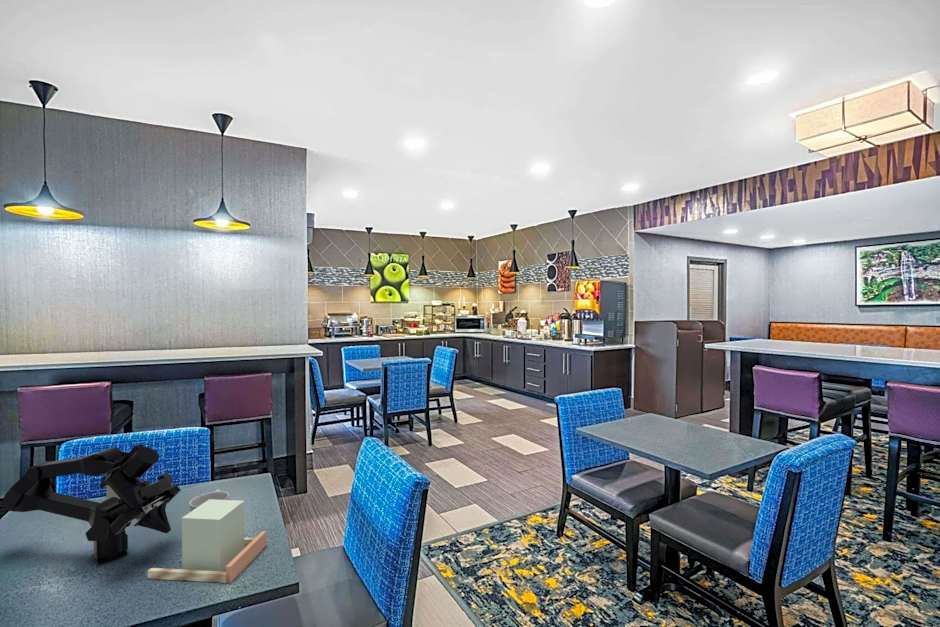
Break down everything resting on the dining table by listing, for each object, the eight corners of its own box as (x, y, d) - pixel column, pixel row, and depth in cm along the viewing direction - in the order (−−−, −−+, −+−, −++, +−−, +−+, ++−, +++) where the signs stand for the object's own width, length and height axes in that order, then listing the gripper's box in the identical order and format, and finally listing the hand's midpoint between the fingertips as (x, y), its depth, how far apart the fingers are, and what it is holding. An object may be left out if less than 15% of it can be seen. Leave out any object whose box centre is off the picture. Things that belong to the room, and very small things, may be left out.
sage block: (182, 572, 118) (181, 518, 117) (209, 549, 129) (209, 499, 128) (220, 574, 117) (219, 519, 116) (244, 551, 128) (244, 500, 127)
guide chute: (147, 578, 115) (147, 562, 115) (194, 542, 132) (193, 528, 132) (230, 582, 113) (230, 566, 113) (266, 545, 131) (266, 531, 131)
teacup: (217, 532, 138) (217, 505, 138) (181, 531, 138) (180, 504, 138) (241, 511, 152) (241, 486, 152) (208, 510, 152) (208, 486, 152)
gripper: (121, 481, 114) (164, 529, 114) (174, 456, 133) (211, 496, 132) (91, 511, 115) (133, 558, 114) (148, 482, 133) (184, 522, 133)
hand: (168, 531), depth 123 cm, fingers closed
